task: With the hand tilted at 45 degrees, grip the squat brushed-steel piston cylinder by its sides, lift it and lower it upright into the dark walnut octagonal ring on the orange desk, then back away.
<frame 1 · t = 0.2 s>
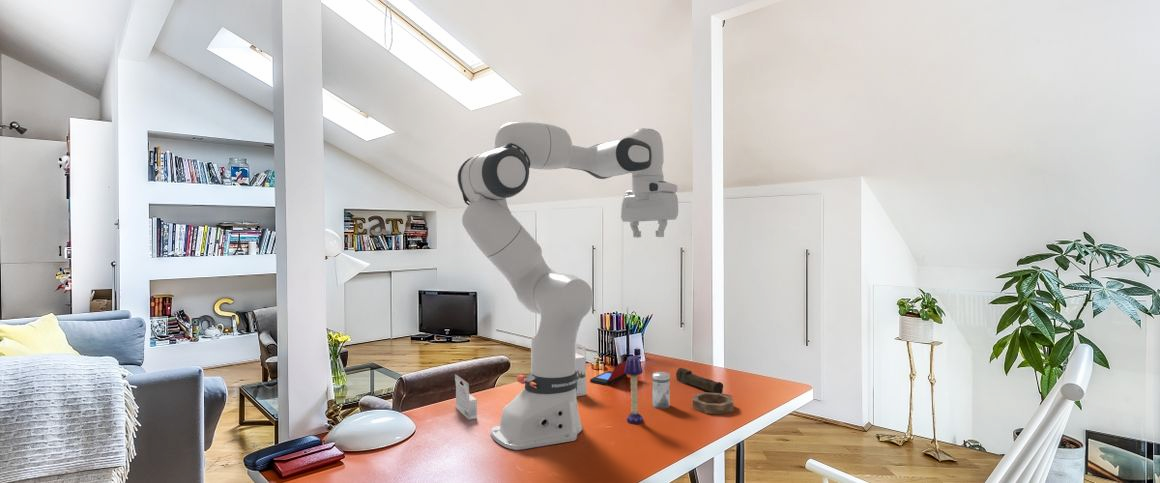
hand: (648, 237, 146), 47 cm above the table, tool pointing down, fingers open, 8 cm apart
walnut ring: (712, 407, 145), on the table
piston: (661, 405, 147), on the table
toy lamp: (633, 421, 135), on the table
ink cartridge box: (465, 414, 141), on the table
ink box: (573, 393, 159), on the table
handheld game console: (612, 381, 172), on the table
hand tool: (695, 388, 164), on the table
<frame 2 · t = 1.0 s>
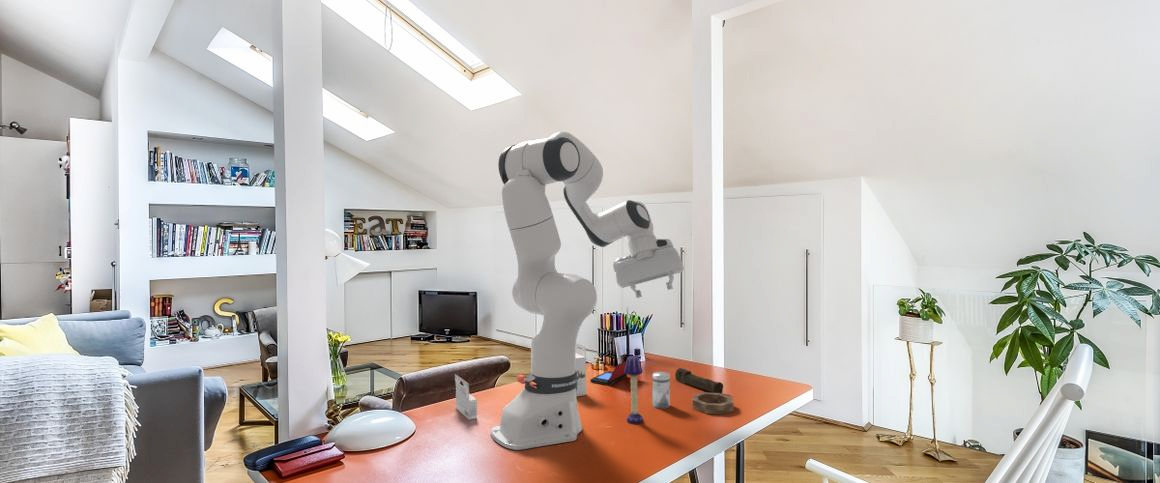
hand: (654, 292, 152), 31 cm above the table, tool tilted 30°, fingers open, 8 cm apart
nothing on the table moved.
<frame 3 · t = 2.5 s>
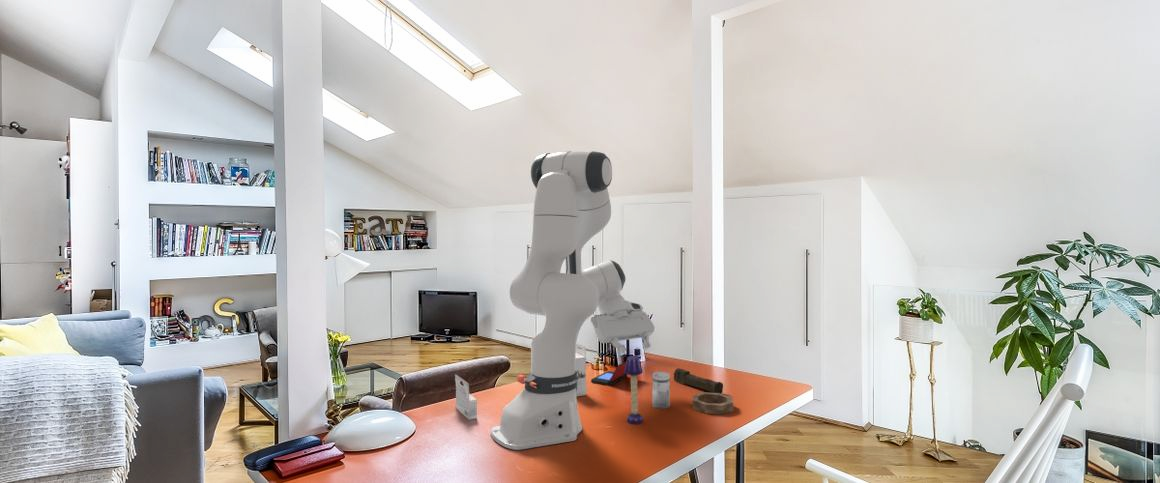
hand: (636, 349, 156), 14 cm above the table, tool tilted 45°, fingers open, 8 cm apart
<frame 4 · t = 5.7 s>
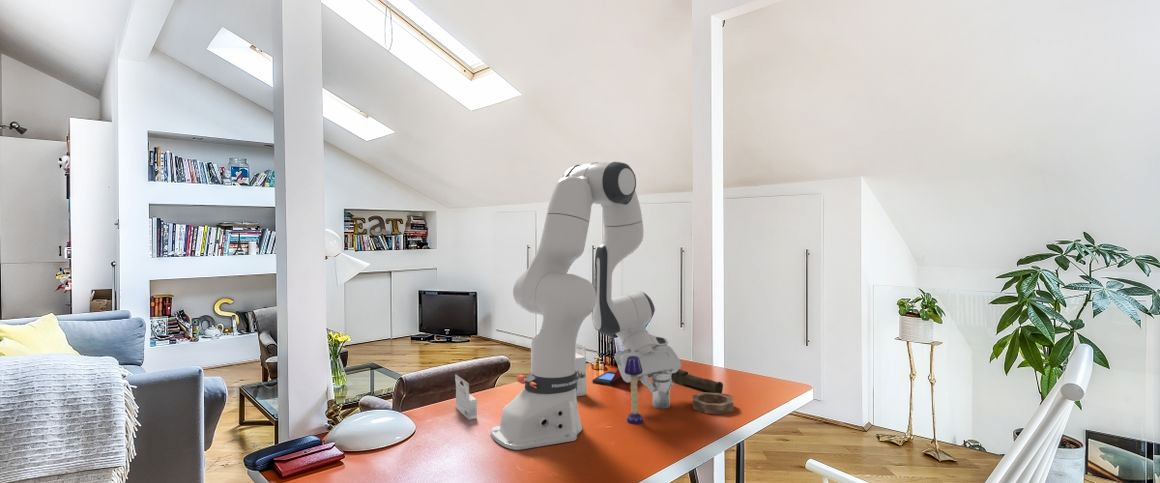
hand: (662, 389, 146), 5 cm above the table, tool tilted 45°, fingers closed on piston, 5 cm apart
piston: (661, 405, 147), on the table, touching gripper
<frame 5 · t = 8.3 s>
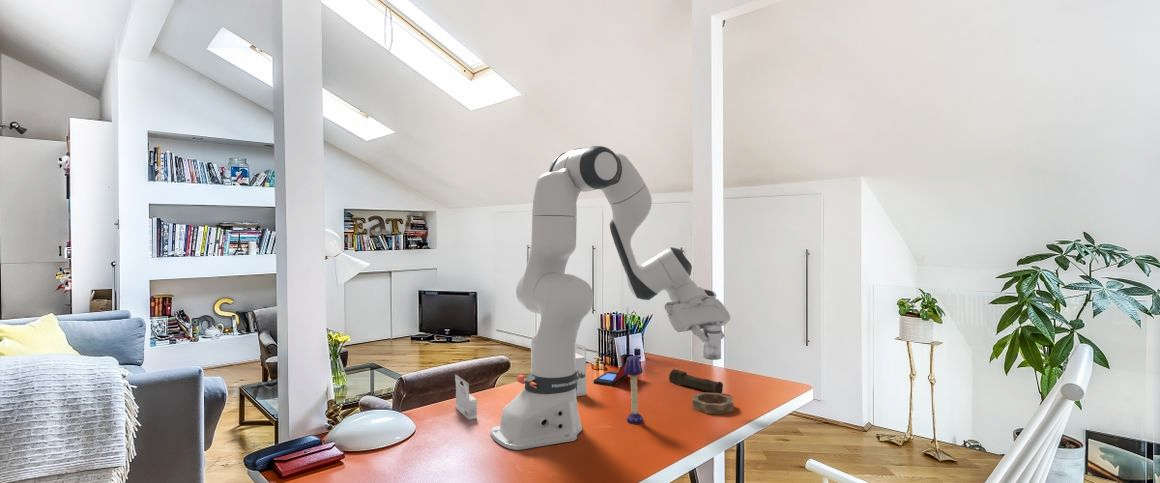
hand: (714, 339, 144), 19 cm above the table, tool tilted 45°, fingers closed on piston, 5 cm apart
piston: (712, 357, 145), point 14 cm above the table, touching gripper
when the fingers open (6 cm above the table, at t = 11.1 s): piston stays where it is, resting in walnut ring.
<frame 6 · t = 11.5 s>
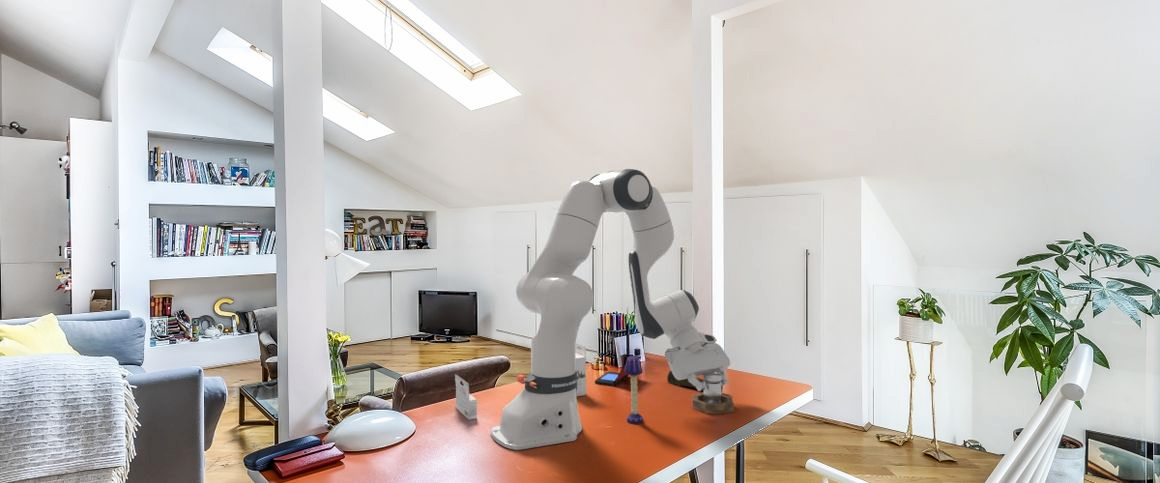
hand: (714, 386, 145), 6 cm above the table, tool tilted 45°, fingers open, 8 cm apart
piston: (712, 407, 145), resting in walnut ring
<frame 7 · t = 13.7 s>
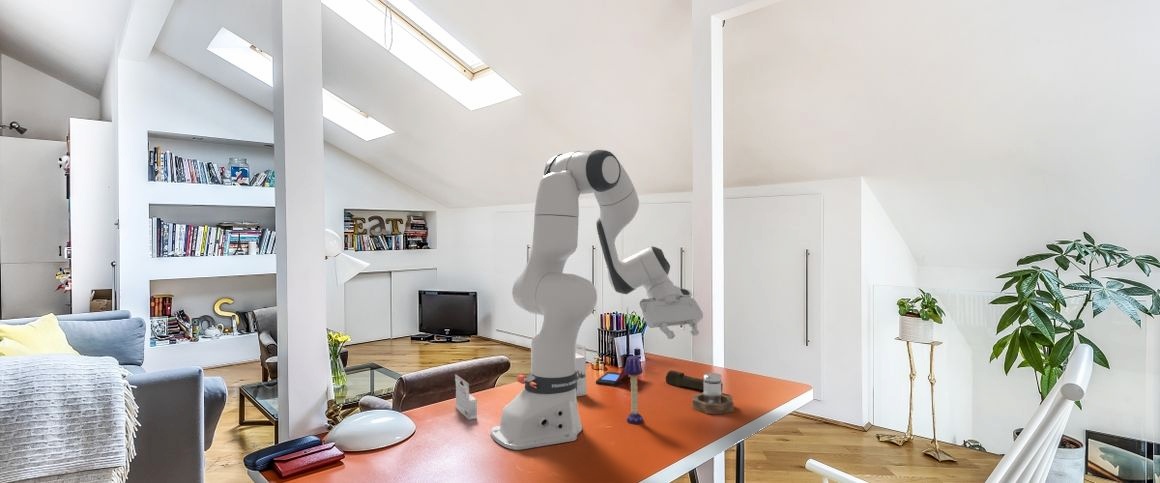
hand: (684, 336, 153), 18 cm above the table, tool tilted 40°, fingers open, 8 cm apart
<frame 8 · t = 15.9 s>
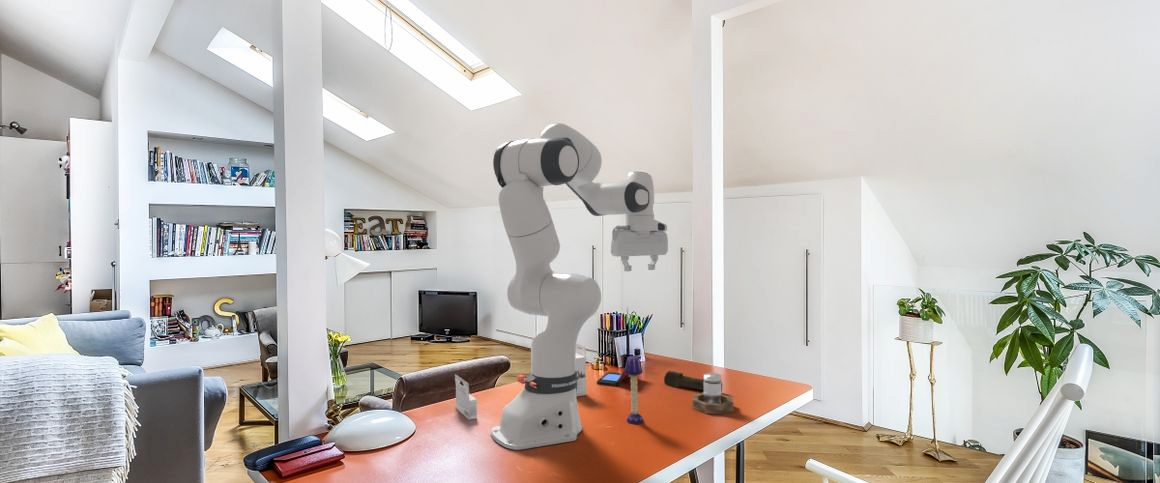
hand: (639, 270, 160), 37 cm above the table, tool pointing down, fingers open, 8 cm apart
at the end: piston 0.1 cm from the walnut ring (horizontally); piston tilted 0°; the gripper is holding nothing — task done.
